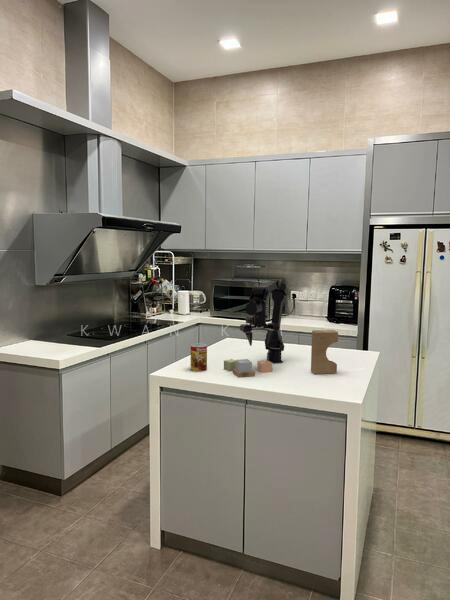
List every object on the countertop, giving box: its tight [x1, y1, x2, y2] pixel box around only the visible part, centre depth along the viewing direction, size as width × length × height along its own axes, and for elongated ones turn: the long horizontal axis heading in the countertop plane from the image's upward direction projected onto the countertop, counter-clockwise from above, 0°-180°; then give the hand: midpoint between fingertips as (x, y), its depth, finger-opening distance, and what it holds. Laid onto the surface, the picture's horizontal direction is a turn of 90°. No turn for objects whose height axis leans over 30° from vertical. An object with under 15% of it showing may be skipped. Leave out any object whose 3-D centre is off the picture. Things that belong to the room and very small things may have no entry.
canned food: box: [190, 342, 208, 373], centre depth 212 cm, size 8×8×12 cm
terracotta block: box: [256, 359, 273, 374], centre depth 212 cm, size 6×6×4 cm
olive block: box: [223, 358, 237, 373], centre depth 213 cm, size 5×5×4 cm
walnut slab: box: [232, 369, 256, 379], centre depth 205 cm, size 8×8×2 cm
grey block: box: [235, 358, 253, 373], centre depth 204 cm, size 6×6×4 cm
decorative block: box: [310, 329, 339, 375], centre depth 209 cm, size 11×6×20 cm, turn 98°
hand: (259, 345), depth 212 cm, fingers open, 9 cm apart
